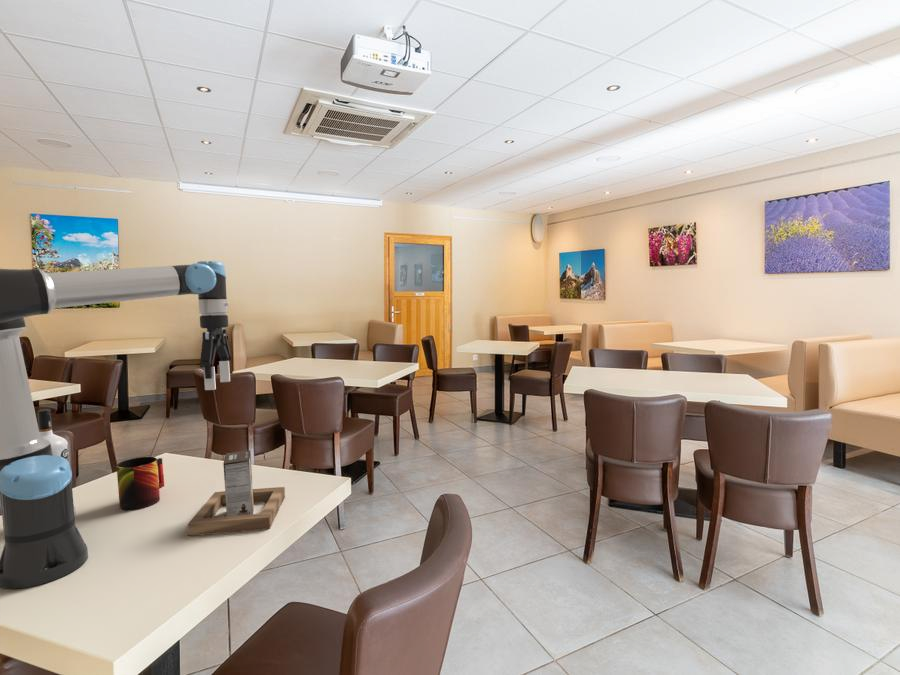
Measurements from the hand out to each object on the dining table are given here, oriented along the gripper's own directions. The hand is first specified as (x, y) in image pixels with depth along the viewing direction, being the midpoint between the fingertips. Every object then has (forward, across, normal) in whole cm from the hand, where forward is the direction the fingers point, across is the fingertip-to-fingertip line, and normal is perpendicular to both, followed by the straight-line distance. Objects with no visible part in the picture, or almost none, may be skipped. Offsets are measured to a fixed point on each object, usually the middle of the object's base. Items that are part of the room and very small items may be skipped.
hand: (218, 385), depth 146 cm
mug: (+32, -4, +22) cm, 39 cm away
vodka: (+32, -15, +38) cm, 52 cm away
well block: (+32, -20, -10) cm, 39 cm away
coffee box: (+32, -20, -10) cm, 39 cm away
